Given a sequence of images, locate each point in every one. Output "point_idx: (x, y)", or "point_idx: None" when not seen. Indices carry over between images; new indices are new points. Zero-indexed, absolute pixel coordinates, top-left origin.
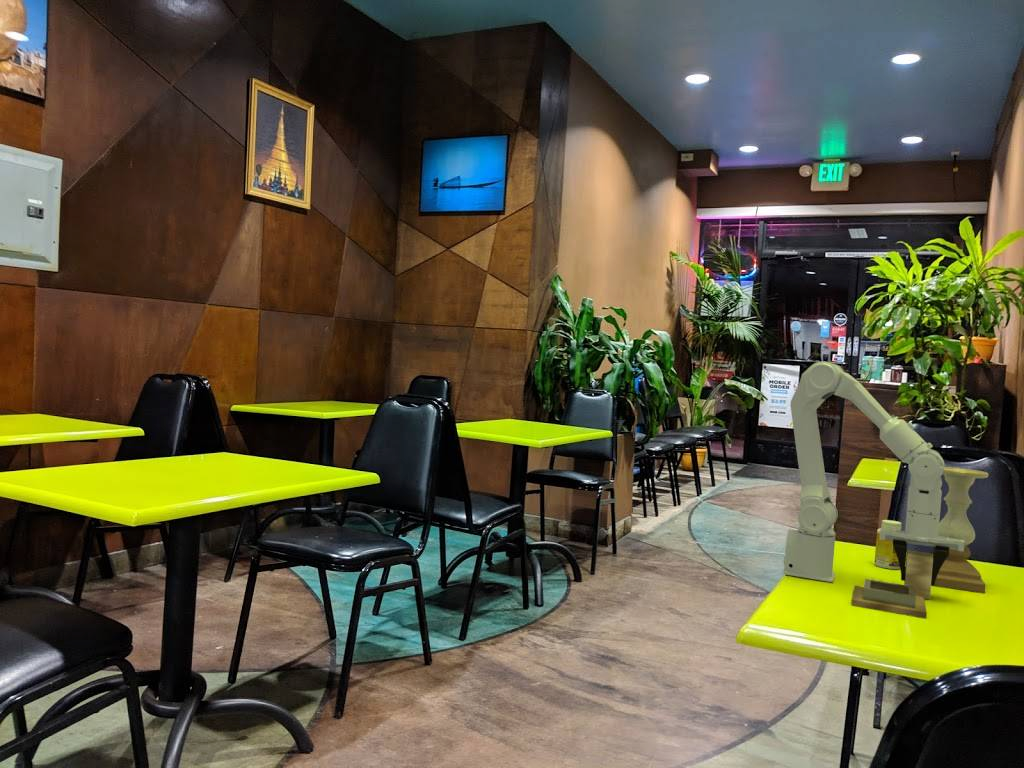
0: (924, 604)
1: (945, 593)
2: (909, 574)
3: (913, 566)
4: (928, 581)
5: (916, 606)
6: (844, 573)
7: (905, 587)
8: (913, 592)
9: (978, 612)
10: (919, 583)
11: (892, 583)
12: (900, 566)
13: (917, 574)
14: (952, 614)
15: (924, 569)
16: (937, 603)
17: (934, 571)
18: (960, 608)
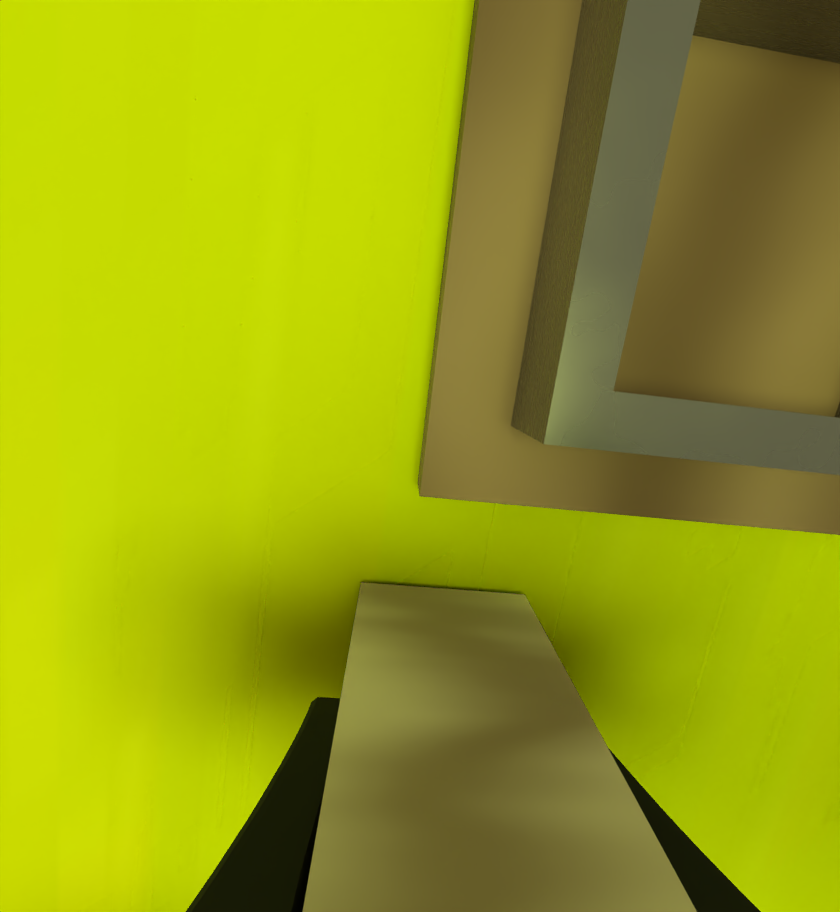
0: (462, 196)
1: (237, 813)
2: (564, 732)
3: (576, 851)
4: (369, 684)
5: (558, 42)
6: (764, 901)
7: (633, 394)
8: (628, 96)
9: (37, 424)
10: (446, 664)
11: (748, 451)
12: (695, 847)
13: (488, 741)
14: (239, 213)
15: (422, 824)
16: (318, 516)
17: (285, 841)
18: (165, 468)
